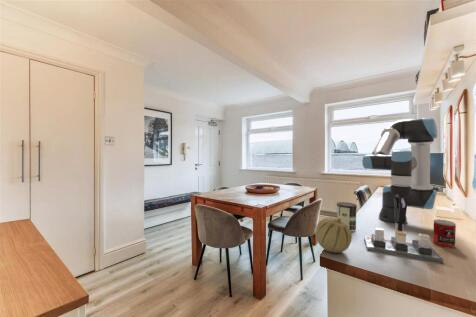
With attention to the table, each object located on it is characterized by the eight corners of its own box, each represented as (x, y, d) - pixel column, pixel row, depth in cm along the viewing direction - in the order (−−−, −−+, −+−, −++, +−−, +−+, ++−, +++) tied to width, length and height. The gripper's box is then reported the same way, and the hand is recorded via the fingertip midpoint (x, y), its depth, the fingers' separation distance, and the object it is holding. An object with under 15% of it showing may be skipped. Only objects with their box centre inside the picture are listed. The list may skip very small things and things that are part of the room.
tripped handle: (395, 240, 97) (396, 230, 97) (404, 242, 96) (404, 231, 96) (397, 243, 95) (397, 232, 95) (405, 244, 94) (406, 233, 94)
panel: (364, 239, 110) (364, 221, 110) (430, 249, 99) (430, 229, 99) (367, 250, 97) (367, 230, 97) (443, 263, 86) (444, 240, 86)
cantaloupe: (317, 241, 106) (318, 211, 106) (351, 248, 99) (352, 215, 99) (312, 253, 93) (313, 219, 93) (351, 262, 86) (352, 224, 86)
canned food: (438, 246, 102) (438, 223, 102) (429, 240, 110) (430, 218, 109) (459, 249, 99) (459, 225, 99) (449, 242, 107) (449, 220, 107)
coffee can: (352, 226, 130) (353, 202, 130) (358, 232, 120) (359, 206, 120) (334, 224, 132) (334, 201, 132) (338, 230, 122) (339, 205, 122)
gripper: (387, 182, 105) (386, 231, 105) (393, 186, 93) (392, 241, 94) (407, 184, 102) (405, 234, 102) (415, 187, 90) (413, 244, 91)
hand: (399, 237), depth 98 cm, fingers closed
